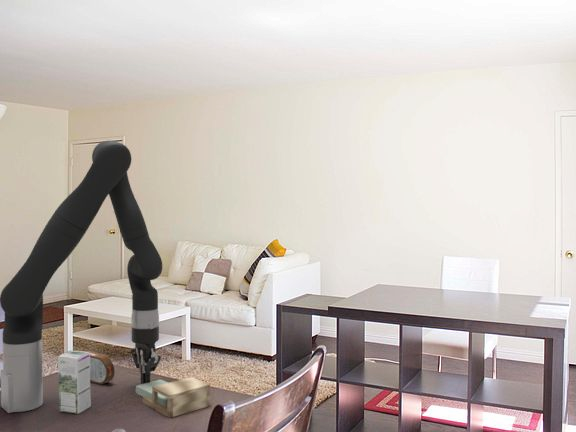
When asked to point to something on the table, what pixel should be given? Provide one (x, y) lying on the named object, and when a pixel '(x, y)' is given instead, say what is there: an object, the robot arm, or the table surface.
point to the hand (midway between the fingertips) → (145, 385)
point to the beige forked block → (180, 397)
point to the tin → (100, 368)
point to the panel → (146, 391)
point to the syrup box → (74, 381)
